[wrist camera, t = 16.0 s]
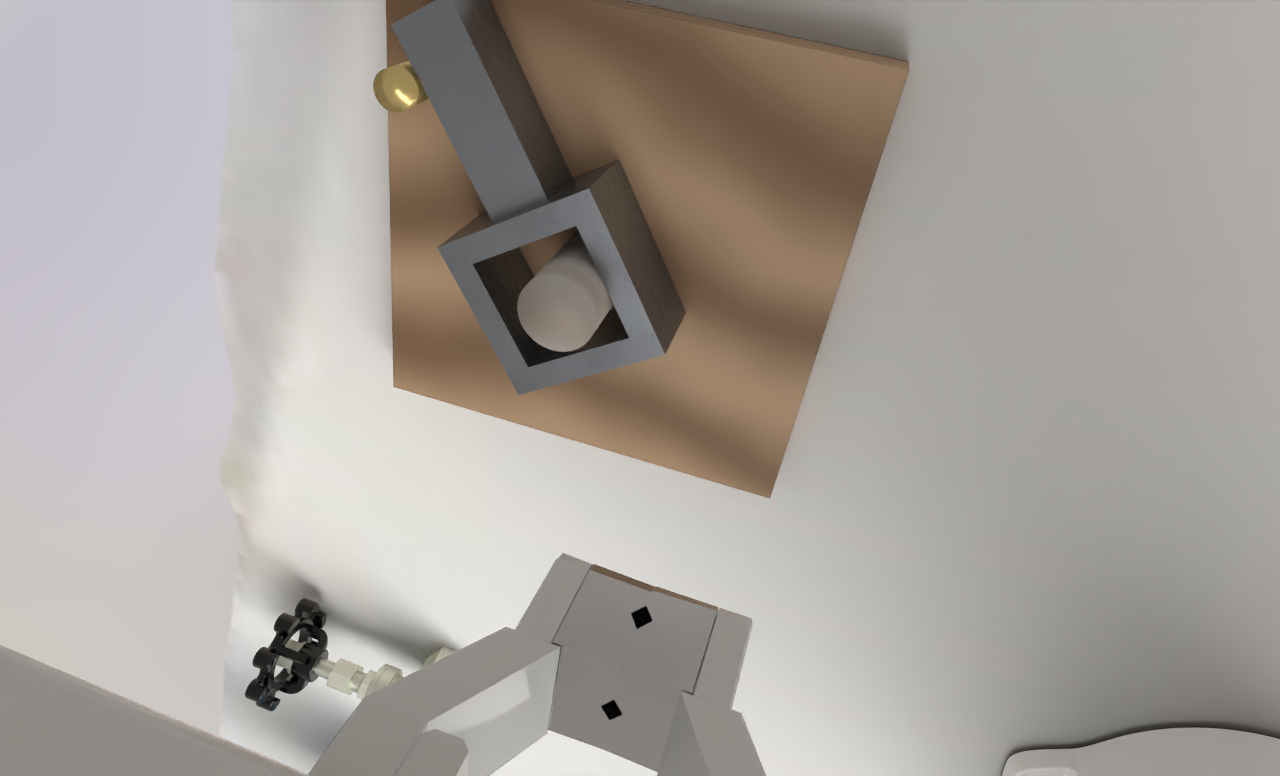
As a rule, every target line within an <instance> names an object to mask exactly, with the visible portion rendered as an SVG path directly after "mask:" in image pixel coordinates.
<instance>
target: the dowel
mask: <svg viewBox="0 0 1280 776" xmlns="http://www.w3.org/2000/svg"><path fill="white" fill-rule="evenodd" d="M373 87H374V93H375V96H376V98H377V100H378V101H379V103H380V104H381V105H382V106H383V107H384V108H385V109H387V110H388V111H391V112H395V113H399V112H403V111H405V110H407V109H409V108H412V107H414V106H416V105H418V104H421V103H423V102H425V101H427V100H429V98H428V96H427V94H426V92H425V90H424V88H423V86H422V84H421V83H420V81H419V79H418V77H417V75H416V73H415V71H414V69H413V67H412V65H411V63H410V61H407V62H404V63H401V64H398V65H395V66H392V67H389V68H386V69H384V70H381V71H380V72H379V73H378V74H377V75H376V77H375V79H374V84H373Z"/></svg>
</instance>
